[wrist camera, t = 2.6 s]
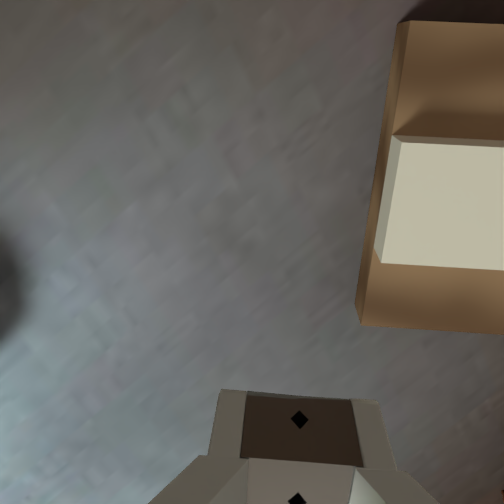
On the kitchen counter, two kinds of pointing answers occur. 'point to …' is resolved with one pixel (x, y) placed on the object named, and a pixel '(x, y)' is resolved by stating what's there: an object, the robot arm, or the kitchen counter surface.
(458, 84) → the board
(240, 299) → the kitchen counter surface
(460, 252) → the cream rectangular block
